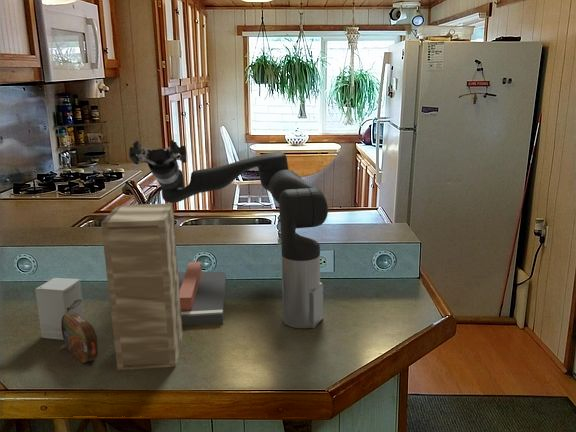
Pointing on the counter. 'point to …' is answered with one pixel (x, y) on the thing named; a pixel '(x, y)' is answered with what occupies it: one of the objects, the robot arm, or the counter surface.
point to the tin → (79, 337)
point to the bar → (190, 285)
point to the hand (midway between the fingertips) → (154, 143)
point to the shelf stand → (143, 285)
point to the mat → (206, 300)
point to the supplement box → (58, 304)
